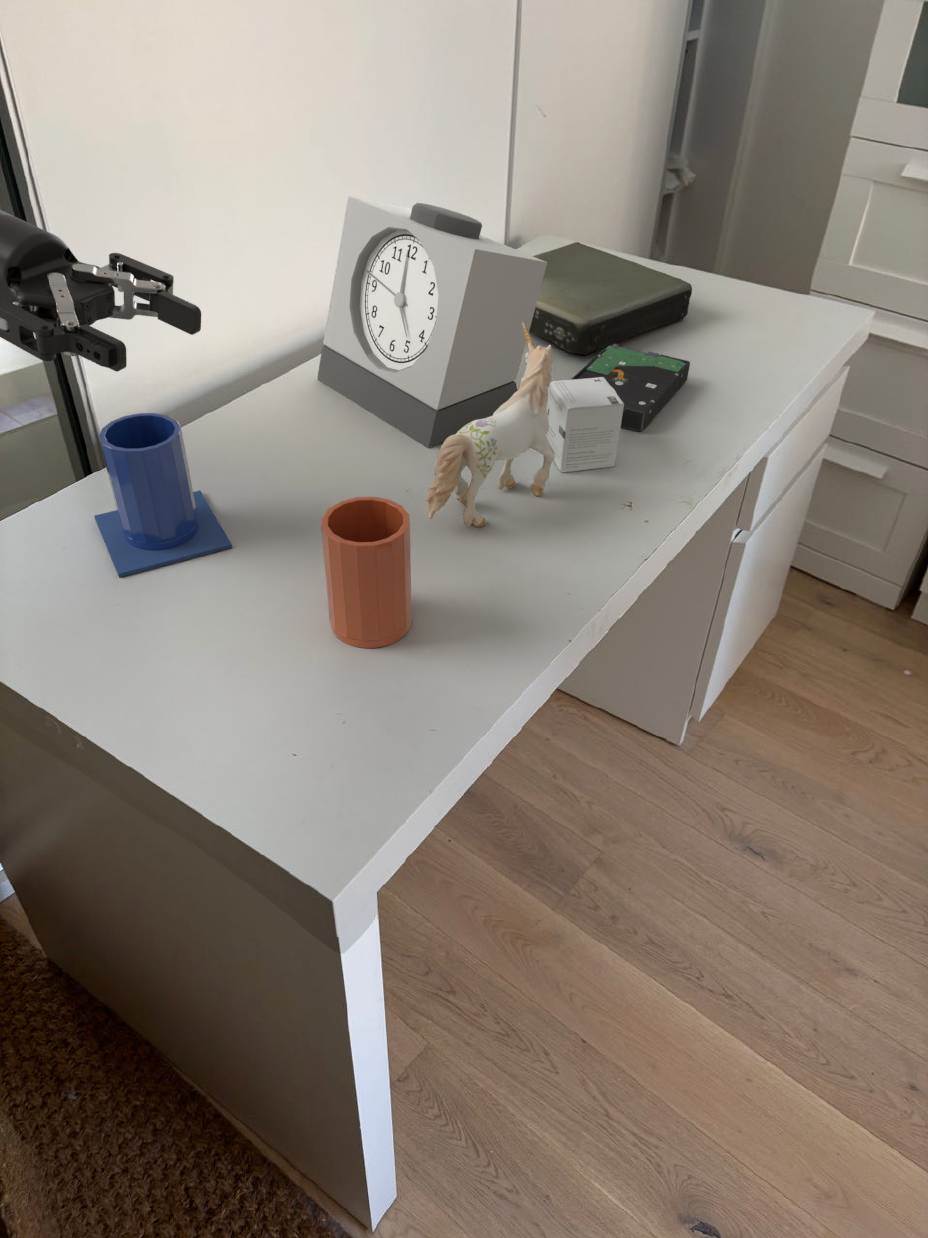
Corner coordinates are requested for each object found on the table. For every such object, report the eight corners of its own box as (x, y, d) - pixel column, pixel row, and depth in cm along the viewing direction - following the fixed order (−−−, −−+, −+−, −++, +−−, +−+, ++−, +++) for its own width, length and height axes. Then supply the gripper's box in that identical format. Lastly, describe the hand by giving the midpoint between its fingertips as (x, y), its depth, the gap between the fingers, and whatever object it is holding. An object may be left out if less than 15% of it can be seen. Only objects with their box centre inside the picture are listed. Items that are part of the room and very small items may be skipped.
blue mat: (119, 577, 83) (118, 574, 83) (94, 518, 90) (93, 515, 89) (232, 547, 87) (231, 544, 86) (200, 493, 93) (200, 490, 93)
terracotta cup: (349, 658, 76) (341, 554, 69) (318, 610, 80) (308, 508, 74) (424, 633, 78) (424, 531, 72) (391, 588, 83) (387, 488, 76)
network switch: (699, 313, 130) (706, 276, 127) (600, 370, 116) (605, 330, 113) (559, 269, 141) (562, 234, 138) (453, 316, 127) (454, 278, 124)
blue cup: (133, 557, 84) (108, 458, 78) (116, 519, 89) (92, 422, 83) (207, 538, 87) (189, 440, 80) (187, 502, 91) (169, 406, 85)
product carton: (541, 444, 102) (547, 380, 97) (596, 438, 103) (603, 374, 98) (560, 474, 97) (567, 408, 93) (616, 467, 99) (626, 401, 94)
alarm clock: (317, 378, 113) (302, 196, 100) (422, 343, 121) (421, 170, 108) (428, 448, 101) (427, 252, 88) (536, 403, 109) (550, 218, 96)
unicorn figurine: (577, 461, 99) (591, 337, 91) (489, 558, 86) (496, 424, 78) (515, 443, 102) (522, 321, 93) (420, 534, 89) (419, 402, 80)
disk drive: (643, 436, 104) (687, 381, 114) (647, 413, 102) (691, 359, 112) (555, 413, 108) (606, 361, 118) (557, 390, 106) (608, 339, 116)
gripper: (-87, 236, 69) (93, 323, 66) (61, 194, 79) (223, 267, 76) (-71, 333, 74) (97, 417, 71) (66, 281, 84) (218, 353, 81)
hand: (162, 339), depth 73 cm, fingers open, 8 cm apart
